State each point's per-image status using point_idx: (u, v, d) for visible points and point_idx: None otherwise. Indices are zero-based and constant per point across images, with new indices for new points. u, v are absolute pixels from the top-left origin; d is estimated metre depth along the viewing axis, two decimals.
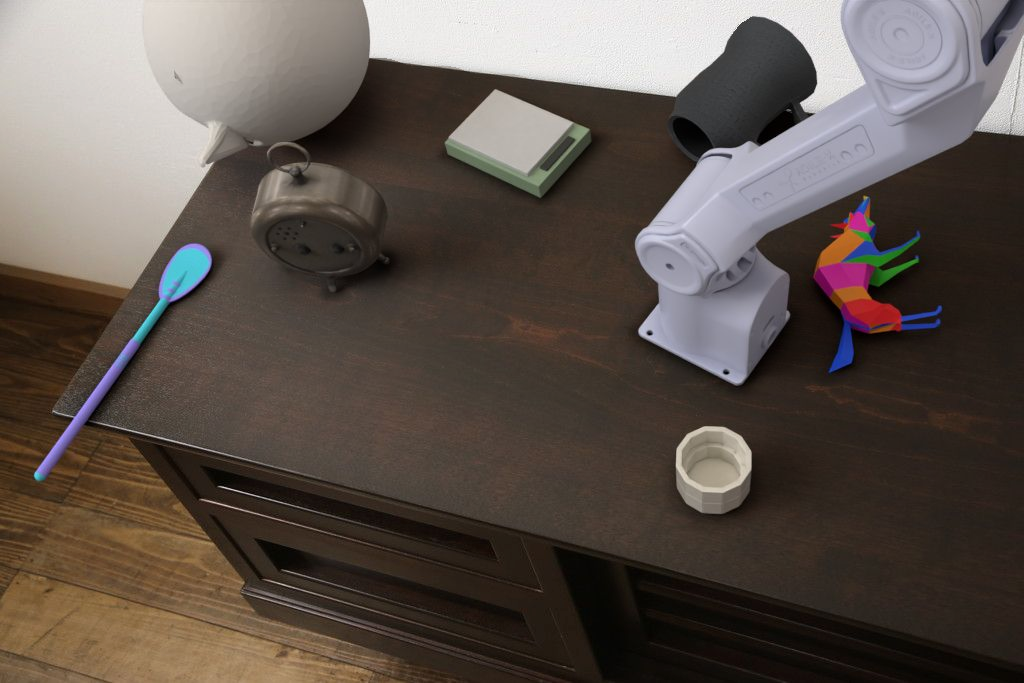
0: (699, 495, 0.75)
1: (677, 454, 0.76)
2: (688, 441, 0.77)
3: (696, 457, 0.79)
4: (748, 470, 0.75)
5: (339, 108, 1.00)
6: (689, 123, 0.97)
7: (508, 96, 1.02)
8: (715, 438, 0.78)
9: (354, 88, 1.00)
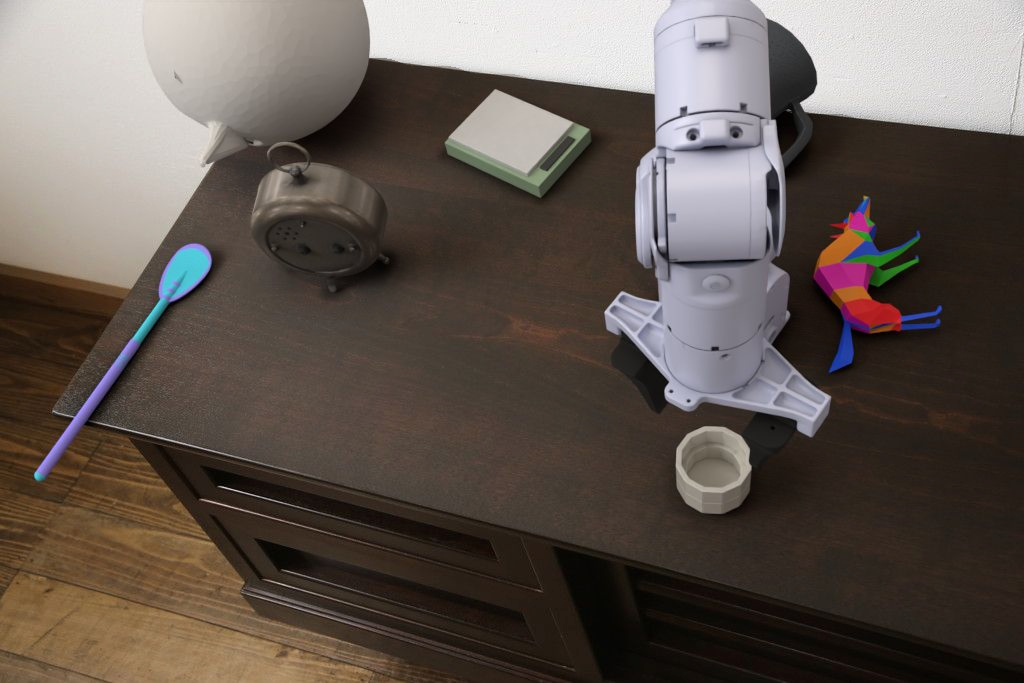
0: (699, 495, 0.75)
1: (677, 454, 0.76)
2: (688, 441, 0.77)
3: (696, 457, 0.79)
4: (748, 470, 0.75)
5: (339, 108, 1.00)
6: None
7: (508, 96, 1.02)
8: (715, 438, 0.78)
9: (354, 88, 1.00)
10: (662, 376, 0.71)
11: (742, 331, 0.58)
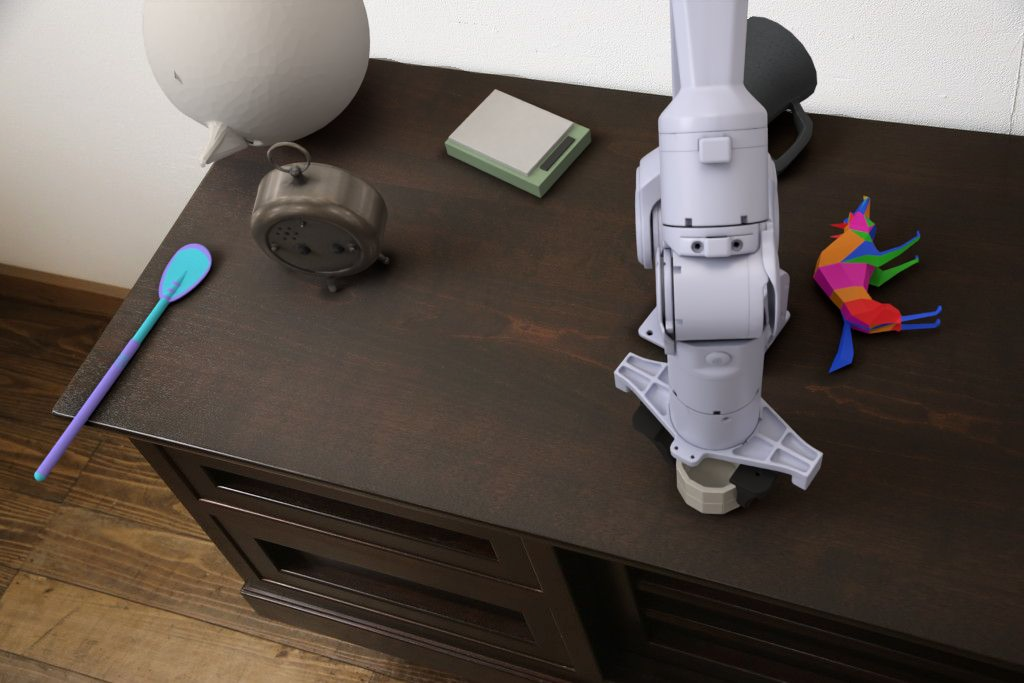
0: (700, 495, 0.75)
1: None
2: None
3: None
4: None
5: (339, 108, 1.00)
6: None
7: (508, 96, 1.02)
8: None
9: (354, 88, 1.00)
10: None
11: (741, 397, 0.64)
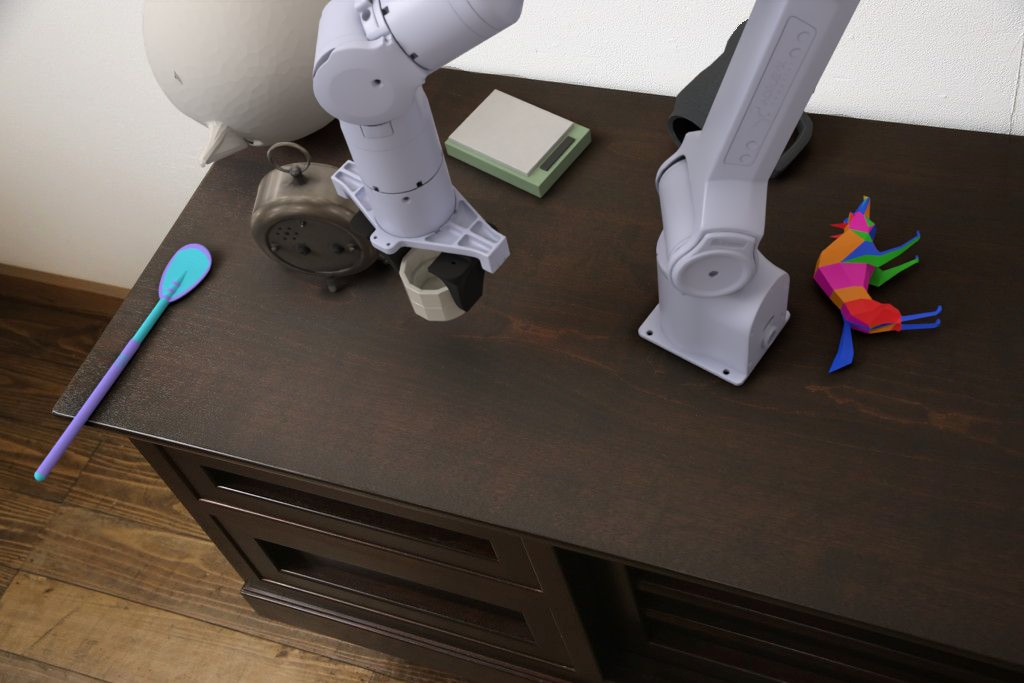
0: (419, 299, 0.80)
1: (402, 263, 0.81)
2: (414, 252, 0.81)
3: None
4: None
5: None
6: (689, 123, 0.97)
7: (508, 96, 1.02)
8: None
9: None
10: None
11: (357, 168, 0.70)
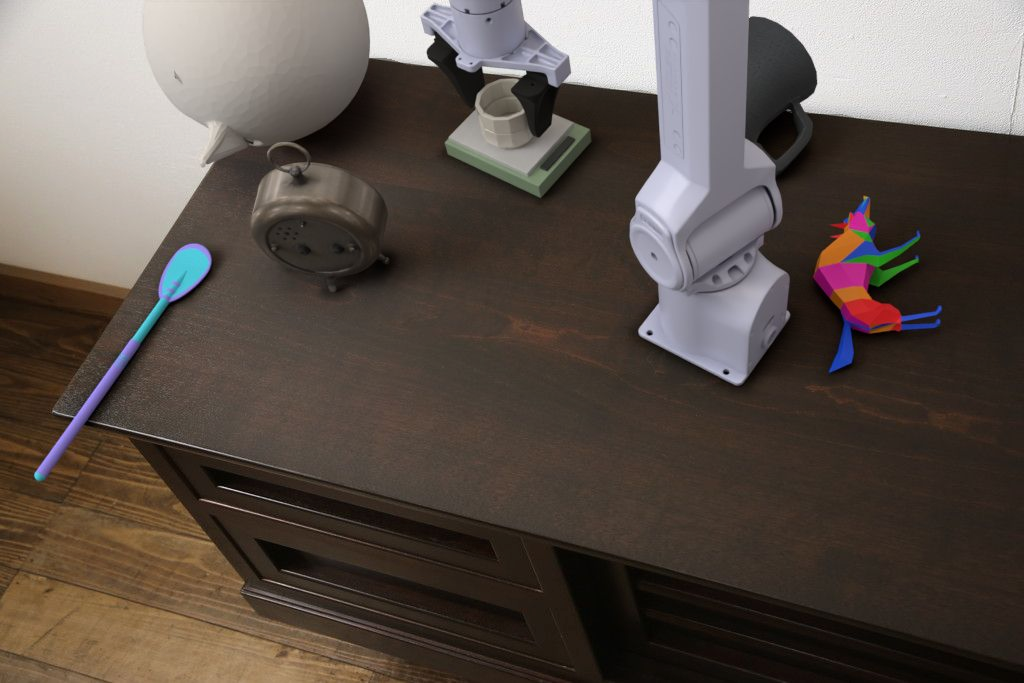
0: (492, 126, 0.96)
1: (477, 97, 0.97)
2: (487, 89, 0.97)
3: (497, 109, 0.99)
4: None
5: (339, 108, 1.00)
6: None
7: None
8: (510, 90, 0.98)
9: (354, 88, 1.00)
10: (469, 72, 0.96)
11: None
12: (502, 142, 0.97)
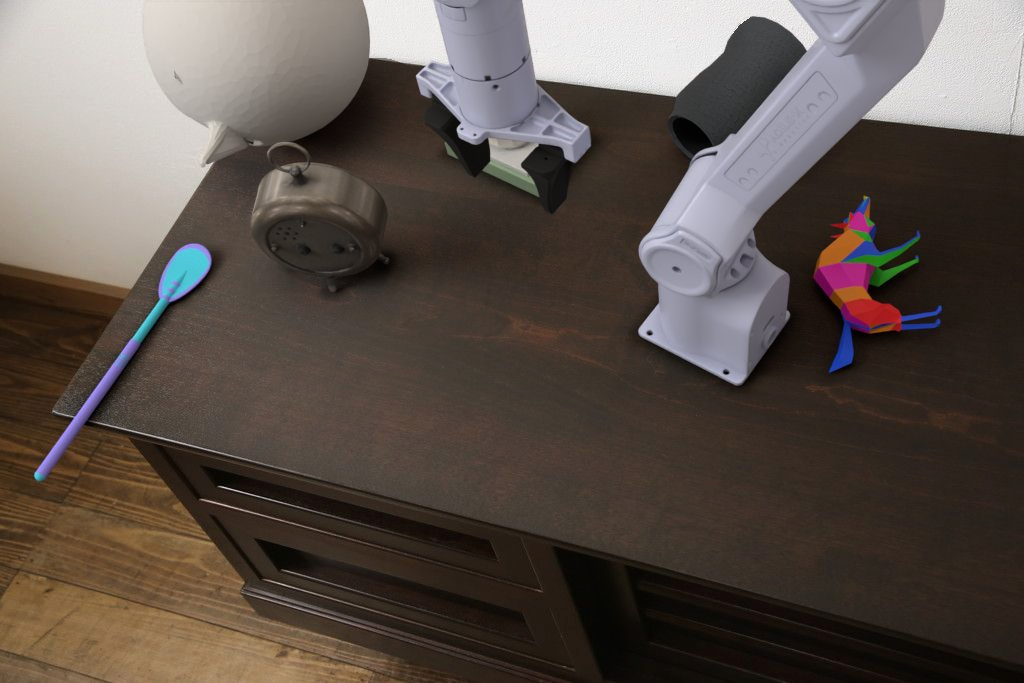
0: None
1: None
2: None
3: None
4: None
5: (339, 108, 1.00)
6: (689, 123, 0.97)
7: None
8: None
9: (354, 88, 1.00)
10: None
11: None
12: (502, 142, 0.97)
